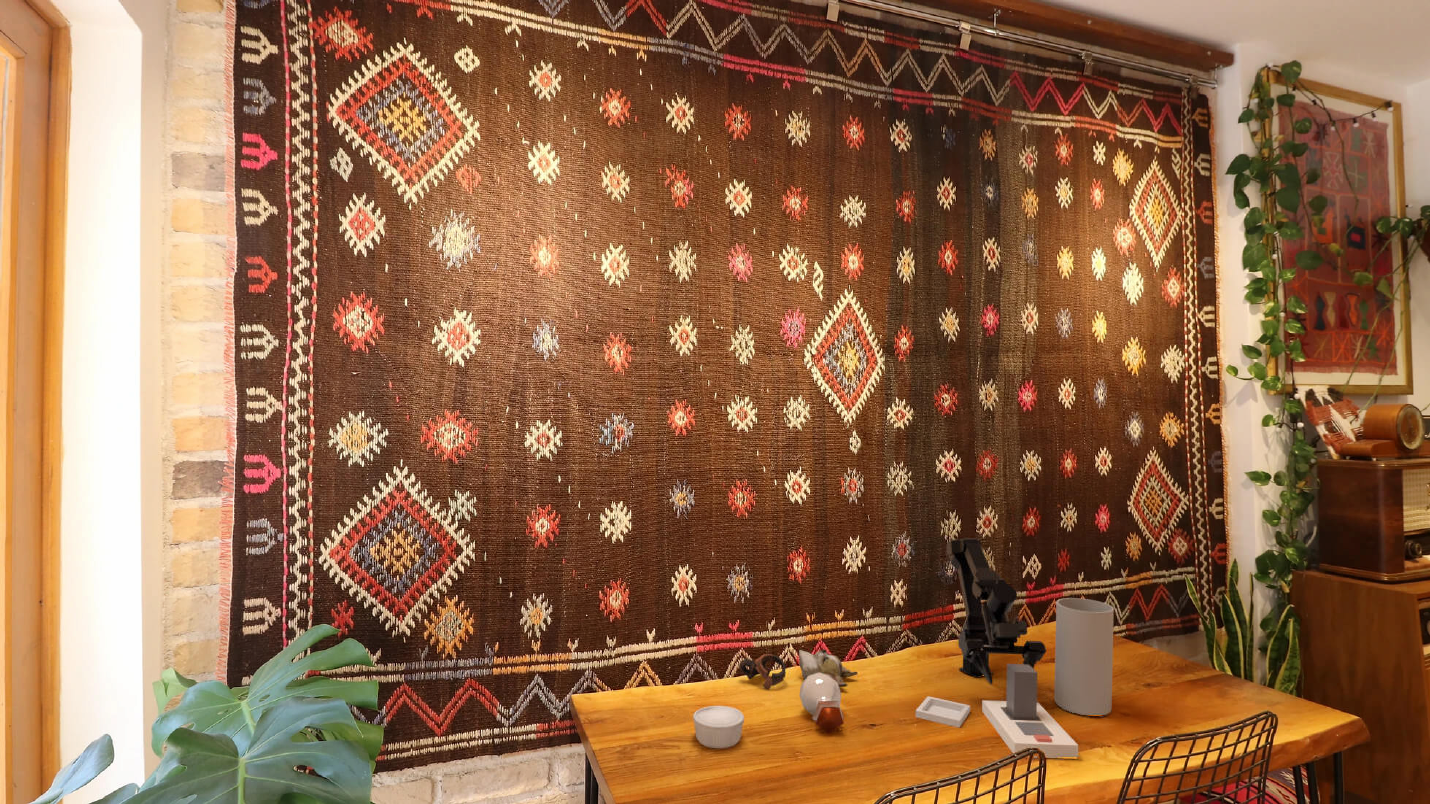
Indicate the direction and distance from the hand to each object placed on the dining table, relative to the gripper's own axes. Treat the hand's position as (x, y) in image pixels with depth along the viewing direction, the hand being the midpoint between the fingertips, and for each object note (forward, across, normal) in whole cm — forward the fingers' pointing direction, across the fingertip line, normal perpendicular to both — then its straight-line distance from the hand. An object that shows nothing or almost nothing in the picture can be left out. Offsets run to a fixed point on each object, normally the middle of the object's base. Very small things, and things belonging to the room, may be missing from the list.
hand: (1011, 684), depth 179 cm
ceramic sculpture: (-7, -42, +18) cm, 46 cm away
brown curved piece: (-5, -58, +16) cm, 61 cm away
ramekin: (+18, -69, -7) cm, 71 cm away
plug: (+9, 0, 0) cm, 9 cm away
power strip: (+12, 0, -2) cm, 13 cm away
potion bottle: (+10, -45, +1) cm, 46 cm away
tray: (+7, -16, +4) cm, 18 cm away
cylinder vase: (+1, +19, +10) cm, 22 cm away
